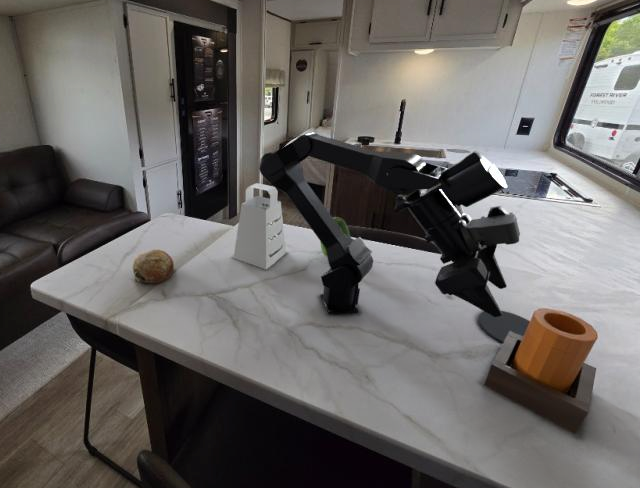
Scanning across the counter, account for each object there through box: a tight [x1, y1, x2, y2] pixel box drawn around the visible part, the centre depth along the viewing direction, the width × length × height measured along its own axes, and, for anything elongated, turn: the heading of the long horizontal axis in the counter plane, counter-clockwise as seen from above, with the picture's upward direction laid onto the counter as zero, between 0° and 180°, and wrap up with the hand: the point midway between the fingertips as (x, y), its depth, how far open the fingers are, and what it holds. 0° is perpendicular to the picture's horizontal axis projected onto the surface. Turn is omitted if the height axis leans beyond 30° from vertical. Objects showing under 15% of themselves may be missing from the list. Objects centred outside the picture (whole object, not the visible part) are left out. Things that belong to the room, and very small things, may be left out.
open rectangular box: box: [483, 331, 597, 435], centre depth 54 cm, size 11×11×4 cm
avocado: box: [319, 216, 352, 257], centre depth 90 cm, size 8×8×12 cm
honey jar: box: [509, 307, 599, 395], centre depth 52 cm, size 7×7×13 cm
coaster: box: [477, 310, 530, 344], centre depth 67 cm, size 11×11×1 cm
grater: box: [233, 182, 287, 270], centre depth 90 cm, size 10×10×20 cm
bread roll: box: [132, 249, 174, 284], centre depth 85 cm, size 10×10×8 cm
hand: (501, 301), depth 54 cm, fingers open, 9 cm apart
